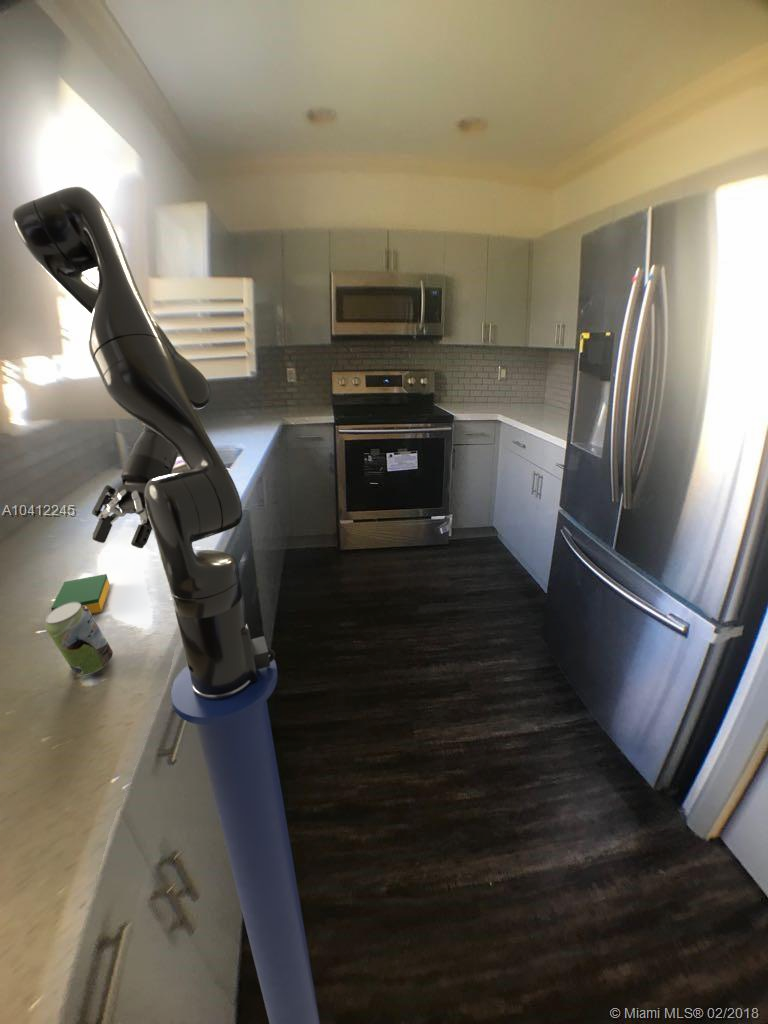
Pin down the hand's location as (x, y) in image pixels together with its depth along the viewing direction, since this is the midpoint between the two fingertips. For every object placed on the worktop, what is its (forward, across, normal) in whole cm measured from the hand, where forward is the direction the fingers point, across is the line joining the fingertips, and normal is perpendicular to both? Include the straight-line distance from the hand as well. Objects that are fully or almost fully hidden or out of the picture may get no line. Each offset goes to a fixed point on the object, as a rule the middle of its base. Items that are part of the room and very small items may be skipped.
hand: (117, 544), depth 80 cm
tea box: (-27, -37, +53) cm, 70 cm away
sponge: (+10, -19, +16) cm, 26 cm away
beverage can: (+21, 0, +5) cm, 21 cm away
